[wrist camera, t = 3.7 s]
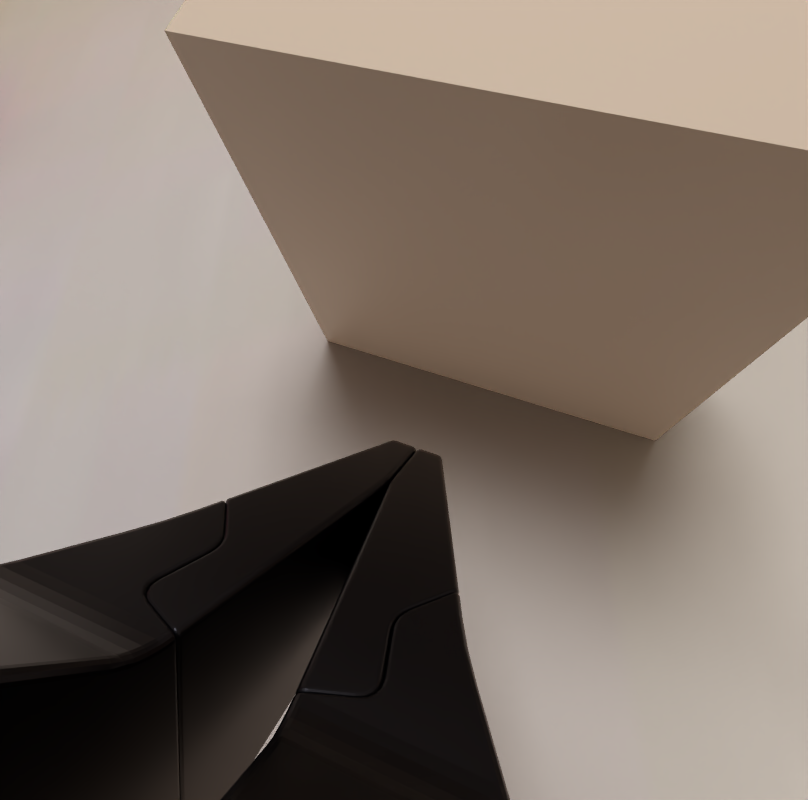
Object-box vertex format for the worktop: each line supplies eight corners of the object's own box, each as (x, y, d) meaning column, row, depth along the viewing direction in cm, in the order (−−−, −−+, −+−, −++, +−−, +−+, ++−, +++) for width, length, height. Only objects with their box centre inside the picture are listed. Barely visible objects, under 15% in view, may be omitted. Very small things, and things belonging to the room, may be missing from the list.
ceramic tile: (655, 440, 16) (974, 181, 6) (327, 341, 19) (164, 30, 8) (677, 348, 17) (987, -12, 7) (362, 263, 20) (253, -101, 9)
